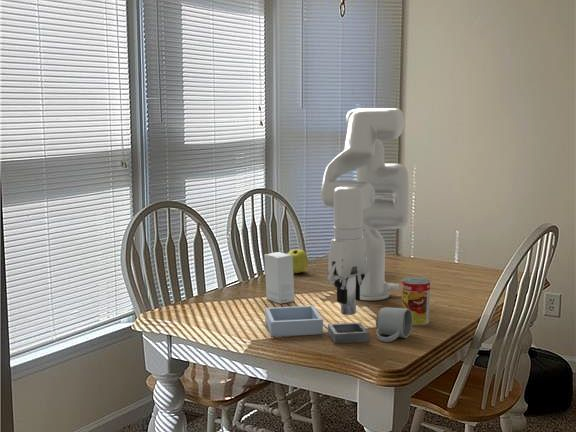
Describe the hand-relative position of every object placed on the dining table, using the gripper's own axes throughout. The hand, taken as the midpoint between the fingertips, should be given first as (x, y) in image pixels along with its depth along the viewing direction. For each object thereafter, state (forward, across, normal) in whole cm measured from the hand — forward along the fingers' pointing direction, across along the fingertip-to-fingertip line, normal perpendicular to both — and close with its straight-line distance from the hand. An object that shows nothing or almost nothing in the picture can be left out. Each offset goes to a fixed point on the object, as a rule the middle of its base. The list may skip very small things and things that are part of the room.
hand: (348, 300), depth 199 cm
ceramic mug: (+10, -9, +8) cm, 16 cm away
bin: (+10, +7, -15) cm, 19 cm away
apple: (+12, -35, -66) cm, 76 cm away
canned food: (+11, -24, +2) cm, 26 cm away
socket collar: (+10, +1, +1) cm, 10 cm away
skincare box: (+11, -8, -40) cm, 43 cm away
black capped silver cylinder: (+3, 0, 0) cm, 3 cm away
